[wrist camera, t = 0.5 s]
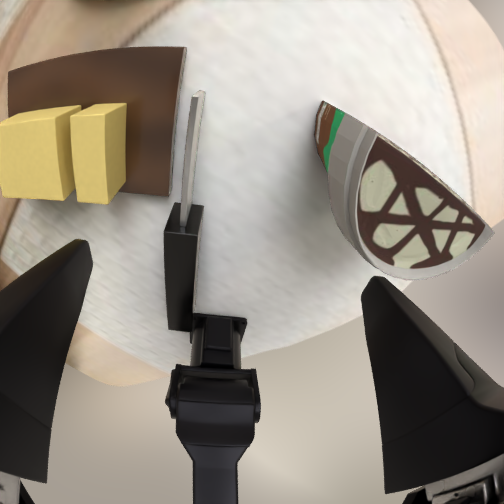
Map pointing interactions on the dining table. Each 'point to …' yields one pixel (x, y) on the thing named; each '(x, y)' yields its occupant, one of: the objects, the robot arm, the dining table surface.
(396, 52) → the dining table surface
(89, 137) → the butter slice
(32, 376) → the robot arm
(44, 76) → the butter board
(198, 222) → the knife
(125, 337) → the dining table surface
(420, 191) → the cake slice
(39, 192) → the butter block
